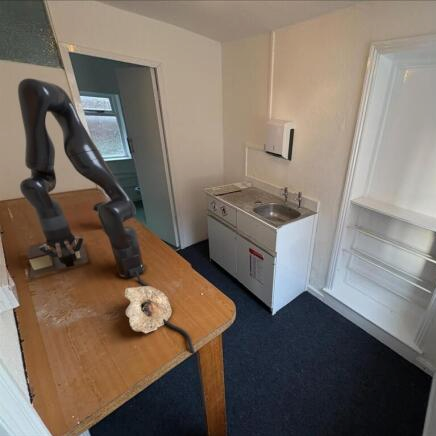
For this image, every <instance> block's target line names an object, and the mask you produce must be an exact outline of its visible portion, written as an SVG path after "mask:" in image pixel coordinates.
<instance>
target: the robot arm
mask: <svg viewBox="0 0 436 436" xmlns="http://www.w3.org/2000/svg"><path fill="white" fill-rule="evenodd" d="M17 96H18V97H17V98H18V103H19V108H20V112H21V119H22V124H23V130H24V136H25V152H24V154H25V156H24V164H25V167H26V168H27V169H28V170H30V173H31V174H30V176H29V177H27V178H24V179H23V180H21V182H20V183H19V190H20V192H21V195H22V196H23V197H24V199H26V201H27V202H28V204H30V206H32V207H33V210H34V212H35V214H36V216H37V217H36V218H37V219H38V223H39V226H40V228H41V231H42V232H43V235H44V237H45V240H46V241H45V242H46V244H44V245H41V246H39V249H40V250H41V251H42V252H44V253H45V254H47V255H49V256H50V257H52V258H54V257H58V258H59V260H60V262H61V263H64V264H65V262H64V260H63V257H62V253H61V249H63V248H68V250H69V251H70V254H71V257H72V259H73V262H74V261H75V260H76V259H77V257H76V254H75V252H77V251H79V250H80V248H81V245H82V243H84V237H83V236H75V235H74V234H73V233H72V231H71V229H70V225H69V223H68V219H67V217H66V216H65V214H64V211H63V209H62V207H61V204H60V202H59V201H58V200H57V199H54V198H52V197H51V196H50V193H51V192H52V191H54V190H55V188H56V185H57V177H56V176H57V175H56V171H55V159H56V149H55V144H54V141H53V140H52V137H51V136H50V134H49V132H48V129H47V124H46V118H47V114H48V113H50V114H51V115H52V116H53V118H54V119H55V120H56V122H57V124H58V126H59V127H60V130H61V132H62V140H63V141H62V142H63V151H64V154H65V156H66V157H67V159H68V160H69V163H70V164H71V165H72V166H73V168H74V169H75V171H76V172H77V173H78V174H80V175H81V176H82V177H84V178H85V179H87V180H88V181H90V182H91V183H94V184H95V185H97V186H98V187H99V188H101V189H102V190H103V191H104V192H105V193H106V195H107V197H109V199H110V200H108V201H104V202H105V203H103V204H101V205H100V206H99V207H98V215H99V218H100V221H101V223H102V225H101V226H103V227H102V228H104V229H103V231H104V233H105V235H106V236H107V237H108V240H109V243H110V247H111V251H112V254H113V257H114V260H115V264H116V268H117V271H118V275H119V277H120V278H124V279H126V280H129V279H131V278H134V277H136V278H137V280H138V282H139V284H140V285H141V286H149V285H147V284H146V283H144V282H143V280H142V278H141V276H140V275H143V274H144V271H145V270H146V267H145V263H144V260H143V255H142V252H141V248H140V244H139V239H138V235H137V230H136V229H135V228H134V227H133V226H127V225H126V226H124V223H125V222H126V221H129V220H130V219H132V218H135V216H136V214H137V208H136V206H135V203H134V202H133V200H132V199H131V198H130V196H129V195H128V194H127V193H126V191H125V190H124V188H123V187H122V186H121V184H120V182H119V181H118V180H117V178H116V176H114V173H113V172H112V171H111V169H110V167H109V166H108V164H107V163H106V161H105V159H104V157H103V156H102V153H101V152H100V150H99V149H98V147H97V146H96V145H95V143H94V141H93V139H92V138H91V136H90V134H89V132H88V130H87V129H86V128H85V125H84V124H83V123H82V120H81V118H80V116H79V114H78V112H77V110H76V107H75V106H74V103H73V101H72V99H71V98H70V95H69V94H68V93H67V92H66V90H64V88H62V87H61V86H60V85H57V84H54V83H52V82H48V81H44V80H40V79H36V78H31V77H29V78H28V77H27V78H24V79H22V80H20V81H19V83H18V86H17ZM100 221H99V222H100ZM101 223H100V224H101ZM74 239H75V241H76V243H77V244H76V247H75V248H74V249H73V247H72V243H73V241H74ZM48 246H49V247H50V248H52V249H54V250H55V249H56V250H57V253H54V252H53V251H51V250H52V249H50V250H49V247H48ZM163 322H164V325H166V326H168V327H169V328H171V329H173V330H176V331H178V332H179V333H181V334H182V335H183V336H184V337H185V338H186V340H187V343H188V347H189V350H190V353H191V354H192V355H194V354H195V349H194V346H193V343H192V339H191V336H190V335H189V334H188V332H187V331H186V330H184V329H183V328H181V327H179V326H177V325H174V324H173V323H171V322H169V321H168V320H167V321H166V320H165V319H163ZM195 369H196V373H197V378H198V382H199V383H198V384H199V389H200V390H199V391H200V396H201V402H202V409H203V411H205V410H206V409H207V406H206V397H205V389H204V385H203V384H204V383H203V378H202V373H201V370H200V369H201V368H200V365H197V366H195Z"/></svg>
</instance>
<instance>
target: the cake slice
mask: <svg viewBox="0 0 436 436" xmlns="http://www.w3.org/2000/svg"><path fill="white" fill-rule="evenodd" d="M76 244H77V242H76V240H75V239H74V241H73V243H72V247H73V249H74V248H75V247H76ZM75 254H76V257H77V258H80V254H79V251H77V252H75Z"/></svg>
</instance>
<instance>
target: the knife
mask: <svg viewBox="0 0 436 436" xmlns="http://www.w3.org/2000/svg"><path fill="white" fill-rule="evenodd" d="M61 252H62V257H63V260H64V262H65V265H66V269H67V268H71V267H75V265H74V262H73V259H72V257H71V254H70V251H69V250H68V248H63V249H61Z"/></svg>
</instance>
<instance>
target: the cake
mask: <svg viewBox="0 0 436 436" xmlns="http://www.w3.org/2000/svg"><path fill="white" fill-rule="evenodd" d="M44 244H46V241H45V242H39V243H35V244H30V245H28V254H27V255H28V256H27V259H28V261H29V264H30V266H31V265H32V267H33V269H34V270H37V269H41V268H44V267H48V266H52V265H53V262H52V257H50V256H49V255H47V254H45V253H44V252H42V251H41V250H40V249H39V246H41V245H44ZM48 247H49V250H51V247H50V246H48Z"/></svg>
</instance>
